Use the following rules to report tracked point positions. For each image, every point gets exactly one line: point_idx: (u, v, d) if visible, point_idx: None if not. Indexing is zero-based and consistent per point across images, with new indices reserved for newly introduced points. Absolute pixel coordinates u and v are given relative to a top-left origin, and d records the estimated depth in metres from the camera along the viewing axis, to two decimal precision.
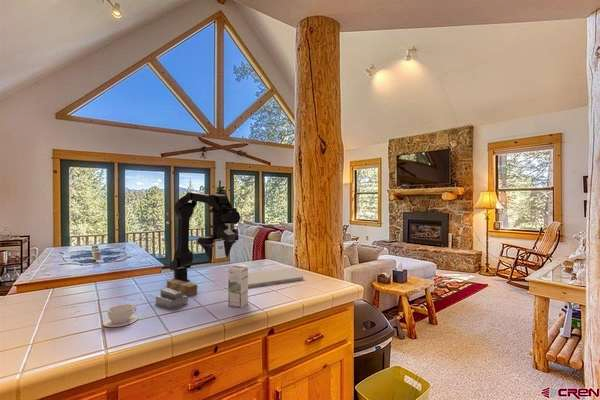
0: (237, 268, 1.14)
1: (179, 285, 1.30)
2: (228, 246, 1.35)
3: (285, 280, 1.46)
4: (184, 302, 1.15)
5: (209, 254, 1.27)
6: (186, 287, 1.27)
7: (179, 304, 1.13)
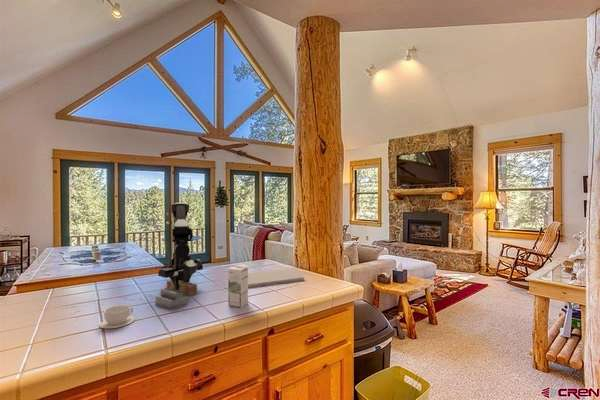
0: (237, 268, 1.14)
1: (179, 285, 1.30)
2: (187, 277, 1.34)
3: (285, 280, 1.46)
4: (184, 302, 1.15)
5: (175, 284, 1.29)
6: (186, 287, 1.27)
7: (179, 304, 1.13)
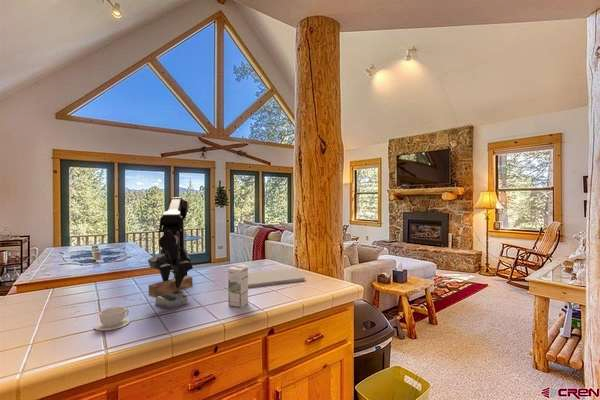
0: (237, 268, 1.14)
1: None
2: None
3: (285, 281, 1.45)
4: (184, 302, 1.15)
5: None
6: None
7: (179, 304, 1.13)
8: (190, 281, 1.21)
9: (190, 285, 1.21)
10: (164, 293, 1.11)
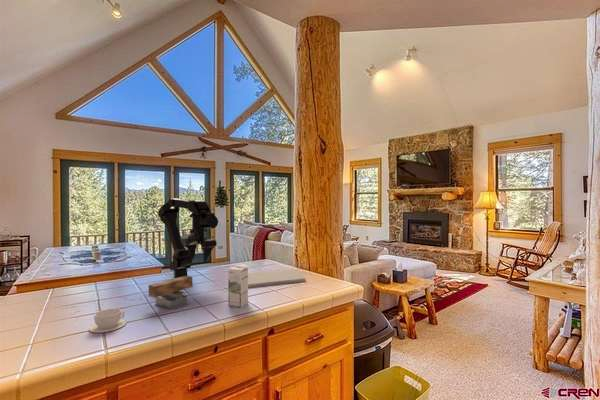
0: (237, 268, 1.14)
1: None
2: None
3: (286, 281, 1.44)
4: (184, 302, 1.15)
5: None
6: None
7: (179, 304, 1.13)
8: (190, 281, 1.21)
9: (190, 285, 1.21)
10: (164, 293, 1.11)
